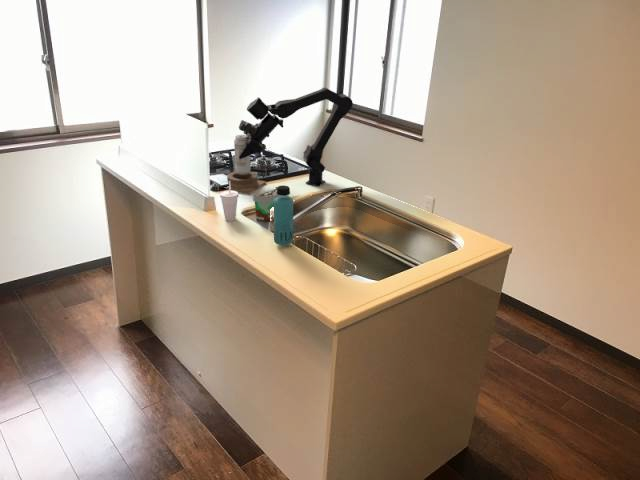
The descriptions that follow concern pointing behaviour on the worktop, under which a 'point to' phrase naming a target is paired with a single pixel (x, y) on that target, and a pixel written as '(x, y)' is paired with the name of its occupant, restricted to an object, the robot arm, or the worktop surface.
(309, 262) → the worktop surface
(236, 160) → the energy drink can
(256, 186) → the brown round bowl
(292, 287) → the worktop surface
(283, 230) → the beverage bottle
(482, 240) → the worktop surface
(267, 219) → the food container
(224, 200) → the smoothie
